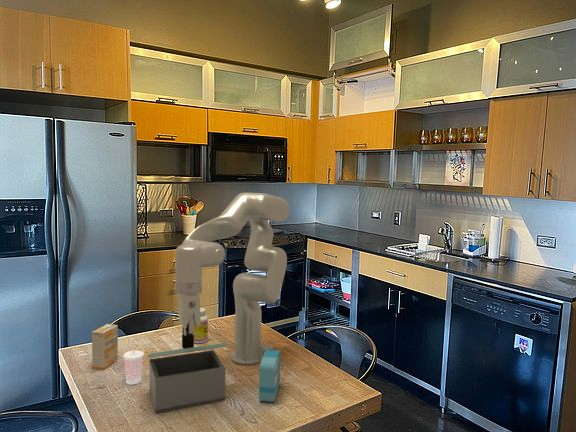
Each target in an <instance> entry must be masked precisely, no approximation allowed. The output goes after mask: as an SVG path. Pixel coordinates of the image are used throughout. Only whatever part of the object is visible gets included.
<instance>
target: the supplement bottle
mask: <svg viewBox="0 0 576 432" xmlns="http://www.w3.org/2000/svg"><path fill="white" fill-rule="evenodd" d="M200 319H201V326H200V327H197V326H196V324H195V323H194V344H204V343H206V342H207V341H208V337H209V336H208V335H209V334H208V329H209V328H208V325H209V324H208V321H209V318H208V316H207V315H206V308H204V307H200Z"/></svg>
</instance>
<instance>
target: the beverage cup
mask: <svg viewBox="0 0 576 432" xmlns="http://www.w3.org/2000/svg"><path fill="white" fill-rule="evenodd" d="M143 358H144V351H142V350H137V349H135V338H132V350H129V351H126V352H125V353H123V359H124V368H125V369H124V370H125V381H126V384H127V385H137V384H139V383H141V382H142V374H143V373H142V371H143Z"/></svg>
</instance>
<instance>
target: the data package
mask: <svg viewBox="0 0 576 432" xmlns="http://www.w3.org/2000/svg"><path fill="white" fill-rule="evenodd" d="M280 372H281V350H274V349H273V350H266V351H265V353H264V356H263V358H262V360H261V362H259V374H258V375H259V378H258V379H259V380H258V381H259V382H258V401H260V402H269V403H274V402H275V400H276V397H277V394H278V390H279V388H280V380H281V379H280V377H281V376H280V374H281V373H280Z"/></svg>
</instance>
